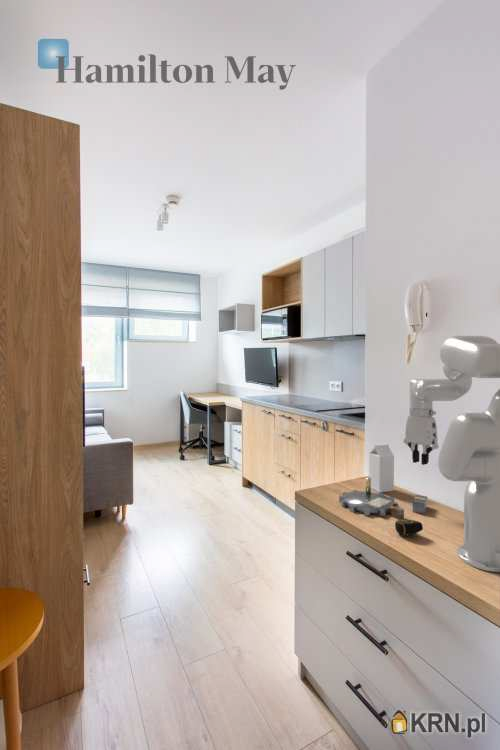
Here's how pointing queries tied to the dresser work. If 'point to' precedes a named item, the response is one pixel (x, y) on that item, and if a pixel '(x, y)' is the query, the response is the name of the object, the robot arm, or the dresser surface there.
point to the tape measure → (408, 526)
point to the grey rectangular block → (420, 504)
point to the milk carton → (381, 468)
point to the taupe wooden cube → (397, 512)
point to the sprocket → (368, 501)
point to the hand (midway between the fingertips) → (420, 462)
